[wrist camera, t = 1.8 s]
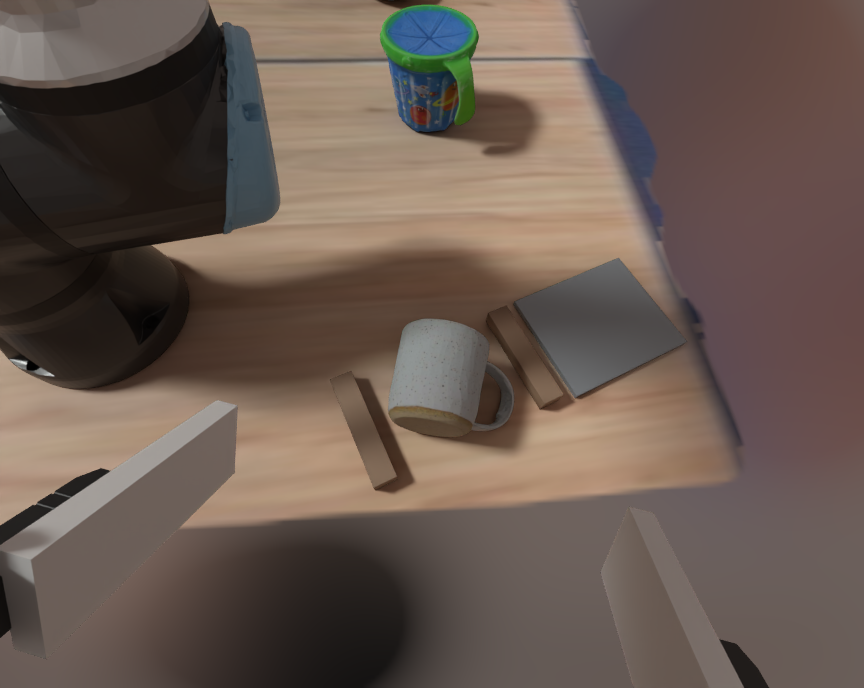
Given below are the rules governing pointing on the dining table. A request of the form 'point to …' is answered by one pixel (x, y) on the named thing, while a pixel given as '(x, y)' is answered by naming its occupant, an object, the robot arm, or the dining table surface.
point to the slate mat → (598, 326)
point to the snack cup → (431, 65)
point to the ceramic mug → (443, 379)
